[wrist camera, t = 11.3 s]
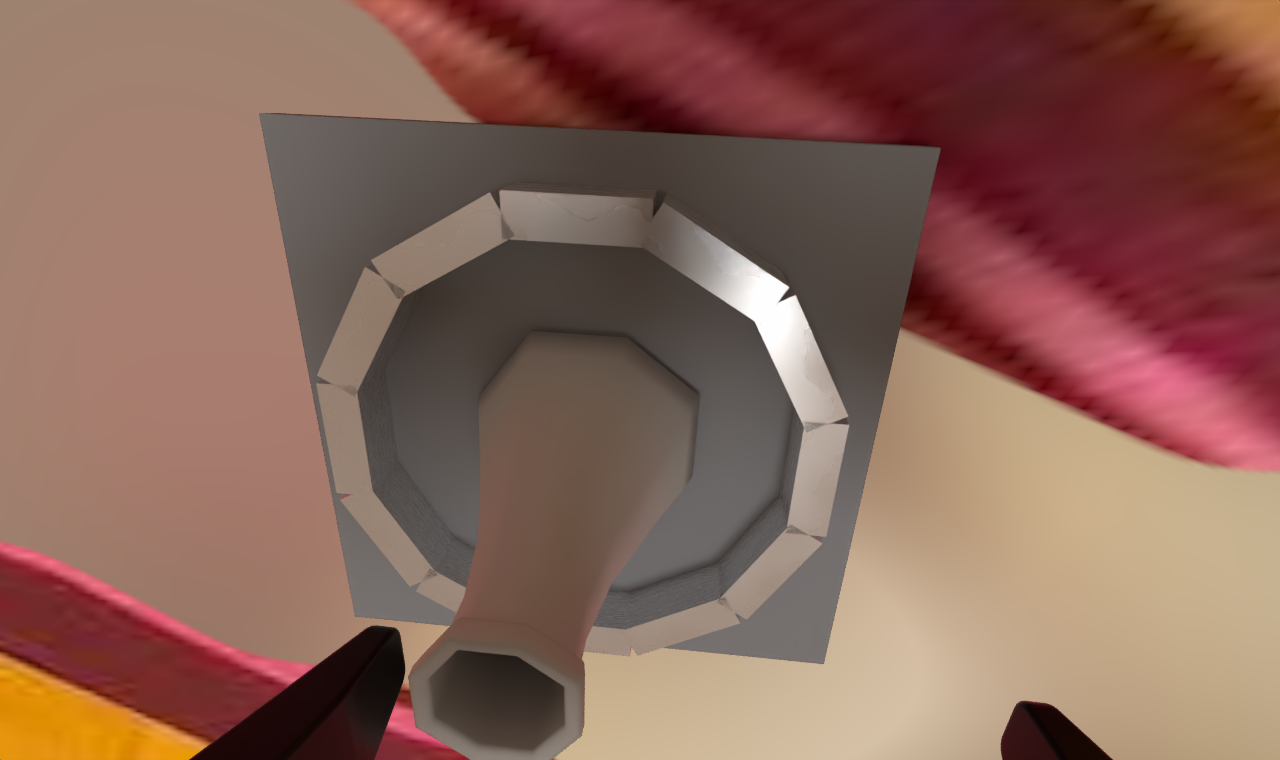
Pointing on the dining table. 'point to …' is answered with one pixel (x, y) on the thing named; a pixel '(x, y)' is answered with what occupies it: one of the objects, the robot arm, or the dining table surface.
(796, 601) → the rubber mat
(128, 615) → the dining table surface
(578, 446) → the flask
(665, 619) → the stone ring
